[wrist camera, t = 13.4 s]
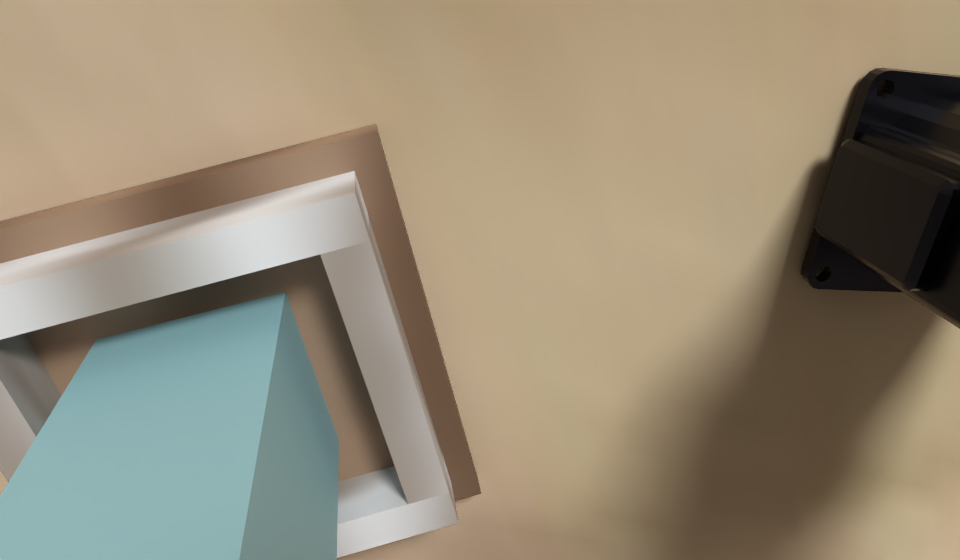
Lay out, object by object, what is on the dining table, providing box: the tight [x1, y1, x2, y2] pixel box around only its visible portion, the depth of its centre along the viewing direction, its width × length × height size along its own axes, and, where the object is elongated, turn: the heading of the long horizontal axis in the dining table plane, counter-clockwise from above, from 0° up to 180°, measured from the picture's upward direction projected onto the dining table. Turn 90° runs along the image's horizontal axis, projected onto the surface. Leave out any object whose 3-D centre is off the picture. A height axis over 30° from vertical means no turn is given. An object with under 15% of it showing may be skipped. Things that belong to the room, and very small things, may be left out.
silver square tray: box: [0, 124, 481, 558], centre depth 20 cm, size 12×12×3 cm
